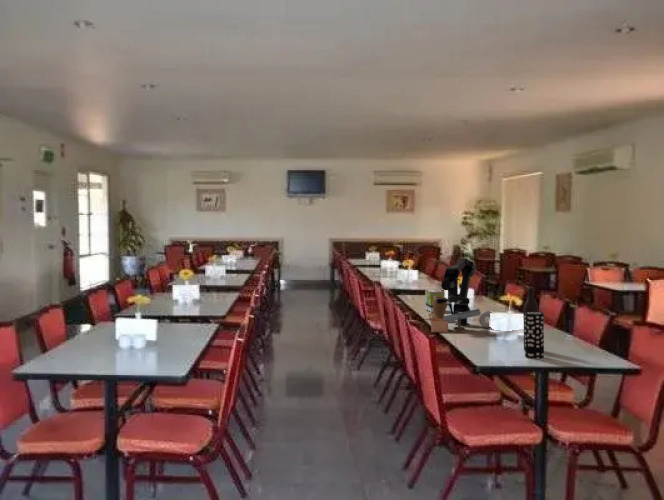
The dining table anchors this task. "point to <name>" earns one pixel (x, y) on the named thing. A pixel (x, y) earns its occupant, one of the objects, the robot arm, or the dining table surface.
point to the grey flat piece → (462, 315)
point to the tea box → (430, 295)
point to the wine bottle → (530, 306)
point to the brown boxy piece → (439, 325)
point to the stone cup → (438, 309)
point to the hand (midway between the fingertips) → (453, 315)
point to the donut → (482, 319)
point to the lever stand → (459, 327)
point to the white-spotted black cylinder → (534, 335)
